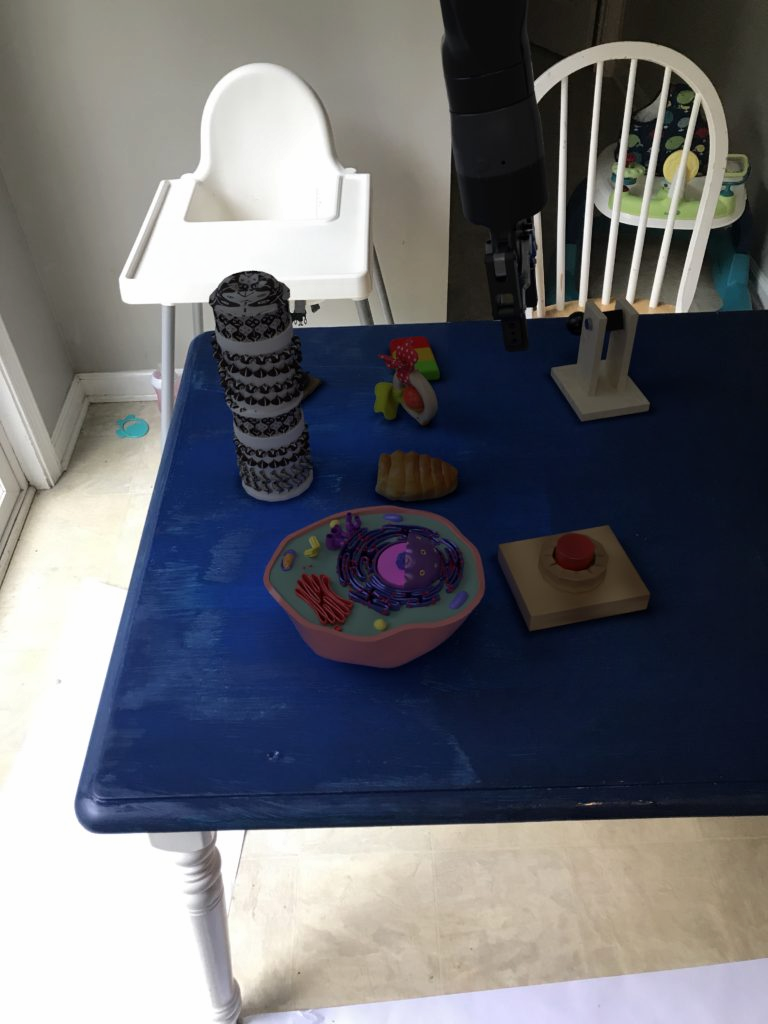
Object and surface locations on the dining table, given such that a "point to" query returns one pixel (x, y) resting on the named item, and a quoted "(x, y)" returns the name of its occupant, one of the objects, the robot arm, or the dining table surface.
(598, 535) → the button block
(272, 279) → the decorative candle
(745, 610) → the dining table surface
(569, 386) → the bracket
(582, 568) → the button
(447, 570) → the cell model
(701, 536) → the dining table surface
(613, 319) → the lever
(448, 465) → the pastry
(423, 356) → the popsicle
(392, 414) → the bird rattle
